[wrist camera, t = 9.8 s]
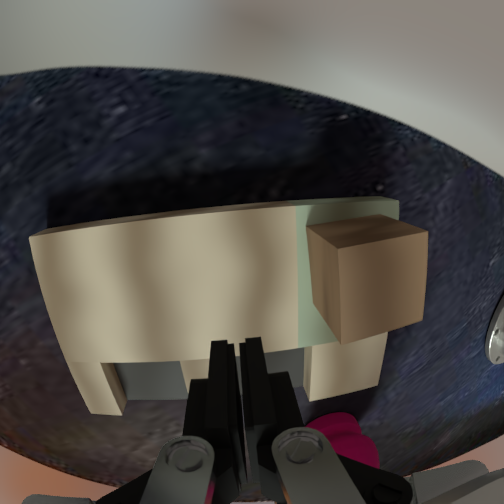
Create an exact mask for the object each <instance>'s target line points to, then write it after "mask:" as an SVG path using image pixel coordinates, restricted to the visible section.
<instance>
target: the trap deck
mask: <svg viewBox="0 0 504 504" xmlns="http://www.w3.org/2000/svg"><path fill="white" fill-rule="evenodd" d="M377 214H382V215H385V216H388V217H390V218H393V219H396V220H399V201H398V200H394V199H390V198H386V197H382V196H371V197H345V198H325V199H307V200H291V201H277V202H264V203H251V204H239V205H228V206H217V207H207V208H197V209H187V210H178V211H169V212H161V213H152V214H144V215H136V216H129V217H121V218H114V219H107V220H100V221H93V222H86V223H80V224H73V225H67V226H61V227H55V228H49V229H45V230H43V231H41V232H39V233H36V234H34V235H32V236H30V237H29V241H30V246H31V250H32V255H33V259H34V263H35V268H36V272H37V276H38V279H39V283H40V287H41V290H42V294H43V297H44V300H45V304H46V307H47V310H48V313H49V316H50V319H51V322H52V325H53V328H54V331H55V333H56V336H57V339H58V342H59V344H60V347H61V349H62V352H63V354H64V357H65V359H66V362H67V364H68V366H69V369H70V371H71V373H72V375H73V378H74V380H75V382H76V384H77V386H78V389H79V391H80V393H81V395H82V397H83V399H84V401H85V403H86V405H87V407H88V409H89V411H90V412H91V413H94V414H107V415H123V411H124V408H125V405H126V402H127V400H169V399H188V393H189V386H190V381H191V379H203V378H208V370H209V358H210V347H211V341H216V340H227V341H228V344H231V343H234V347H235V356H236V364H237V372H238V380H239V388H240V395H242V382H241V367H240V352H239V343H243V342H245V338H252V337H261V340H262V345H263V350H264V356H265V361H266V366H267V371H268V373H276V372H284V371H288V372H289V375H290V379H291V382H292V386H293V388H294V387H300V386H304V389H305V391H306V394H307V397H308V399H309V401H314V400H319V399H324V398H329V397H333V396H338V395H342V394H346V393H351V392H355V391H359V390H362V389H366V388H370V387H374V386H377V385H378V381H379V377H380V372H381V367H382V362H383V357H384V352H385V346H386V340H387V334H388V332H385V333H382V334H379V335H375V336H372V337H369V338H365V339H362V340H358V341H355V342H351V343H348V344H344V345H341V344H340V343H339V341H338V340H337V338H336V337H335V335H334V334H333V332H332V331H331V329H330V328H329V326H328V325H327V323H326V322H325V320H324V319H323V317H322V316H321V314H320V313H319V311H318V310H317V309H316V307H315V306H314V304H313V299H312V286H311V275H310V264H309V254H308V244H307V234H306V226H309V225H315V224H321V223H327V222H333V221H339V220H345V219H351V218H358V217H364V216H370V215H377Z"/></svg>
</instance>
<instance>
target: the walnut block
mask: <svg viewBox="0 0 504 504" xmlns="http://www.w3.org/2000/svg"><path fill="white" fill-rule="evenodd" d="M306 234H307V244H308V254H309V264H310V275H311V286H312V299H313V304H314V306H315V307H316V309H317V310H318V311H319V313H320V314H321V316H322V317H323V319H324V320H325V322H326V323H327V325H328V326H329V328H330V329H331V331H332V332H333V334H334V335H335V337H336V338H337V340H338V341H339V343H340V344H341V345H344V344H348V343H351V342H355V341H358V340H362V339H365V338H369V337H372V336H375V335H379V334H382V333H385V332H388V331H392V330H395V329H398V328H401V327H404V326H407V325H410V324H413V323H416V322H418V321H421V320H422V318H423V310H424V300H425V289H426V275H427V255H428V231H426V230H423V229H421V228H418V227H415V226H413V225H410V224H407V223H404V222H402V221H399V220H396V219H393V218H390V217H388V216H385V215H382V214H377V215H370V216H364V217H358V218H351V219H345V220H339V221H333V222H327V223H321V224H315V225H309V226H306Z"/></svg>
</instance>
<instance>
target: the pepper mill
mask: <svg viewBox="0 0 504 504" xmlns="http://www.w3.org/2000/svg"><path fill="white" fill-rule="evenodd" d="M305 427H309V428H312V429H315V430H318V431H319V432H321V433H323V434H324V436H325V437H326V438H327V439H328V441H329V443H330V444H331V446H332V448H333V449H334V451H335V453H338V454H340V455H343V456H345V457H348V458H350V459H353V460H356V461H358V462H361V463H364V464H366V465H369V466H372V467H375V468H378V469H379V457H378V451H377V449H376V446H375V444H374V442H373V441H372V440H371V439H370V438H369V437H367V436H365V435H362V434H361V428H360V426H359V424H358V422H357V421H356V419H355V417H354V416H352V415H351V414H348V413H344V412H336V413H330V414H327V415H323V416H321V417H319V418H317V419H315V420H313V421H312V422H310V423H309V424H308V425H307V426H305Z"/></svg>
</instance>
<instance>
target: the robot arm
mask: <svg viewBox="0 0 504 504" xmlns="http://www.w3.org/2000/svg"><path fill="white" fill-rule="evenodd" d="M239 352H240V367H241V382H242V396H243V410H244V422H245V431H246V439H247V446H248V452H249V459H250V466H251V472H252V479H253V483H256V482H260V484H261V492H262V494H263V495H264V496H266V497H268V498H269V499H271V500H273V501H274V503H275V504H504V468H503V469H500V470H496V471H493V472H490V473H489V471H488V469H487V468H486V466H485V465H484V464H483V463H481V462H480V461H476V460H468V461H463V462H460V463H456V464H453V465H449V466H445V467H441V468H436V469H432V470H427V471H422V472H417V473H412V475H411V476H410V477H404V478H403V477H401V476H399V475H397V474H393V473H390V472H387V471H384V470H381V469H378V468H375V467H372V466H369V465H366V464H364V463H361V462H358V461H356V460H353V459H350V458H348V457H345V456H343V455H340V454H338V453H335V451H334V449H333V448H332V446H331V444H330V443H329V441H328V439H327V438H326V437H325V436H324V434H323V433H321V432H319V431H318V430H315V429H312V428H309V427H304V424H303V421H302V417H301V414H300V410H299V407H298V403H297V400H296V396H295V393H294V389H293V386H292V382H291V379H290V375H289V372H288V371H284V372H276V373H268V371H267V366H266V361H265V356H264V350H263V345H262V340H261V337H252V338H245V342H243V343H239ZM485 353H486V356H487V358H488V359H489V360H490V361H491V362H492V363H494V364H500V363H503V362H504V295H503V297H502V299H501V301H500V302H499V304H498V306H497V308H496V311H495V313H494V315H493V318H492V320H491V323H490V326H489V329H488V332H487V337H486V343H485ZM243 483H247V470H246V457H245V444H244V430H243V416H242V403H241V395H240V388H239V380H238V372H237V364H236V356H235V347H234V343H231V344H228V341H227V340H216V341H211V347H210V358H209V370H208V378H203V379H191V381H190V386H189V393H188V400H187V406H186V413H185V420H184V428H183V435H182V436H181V437H177V438H174V439H172V440H170V441H168V442H167V443H166V444H165V445H164V446H163V447H162V449H161V450H160V452H159V454H158V457H157V460H156V462H155V465H154V467H153V469H151V470H149V471H148V472H146V473H144V474H143V475H141V476H139V477H138V478H136V479H134V480H132V481H131V482H129V483H127V484H125V485H124V486H122V487H120V488H118V489H116V490H114V491H113V492H111V493H109V494H107V495H105V496H103V497H102V498H100V499H99V500H97V501H92V500H91V499H90V498H75V497H60V496H49V495H40V494H33V495H30V496H28V497H26V498H25V499H24V500H23V502H22V504H230V503H231V502H233V501H234V500H235V499H236V498H237V497H239V496H240V495H239V492H241V484H243Z"/></svg>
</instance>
